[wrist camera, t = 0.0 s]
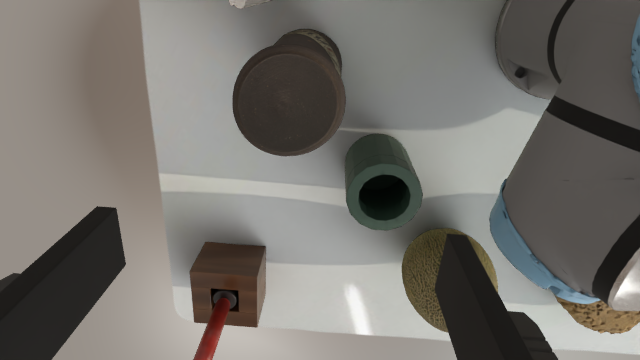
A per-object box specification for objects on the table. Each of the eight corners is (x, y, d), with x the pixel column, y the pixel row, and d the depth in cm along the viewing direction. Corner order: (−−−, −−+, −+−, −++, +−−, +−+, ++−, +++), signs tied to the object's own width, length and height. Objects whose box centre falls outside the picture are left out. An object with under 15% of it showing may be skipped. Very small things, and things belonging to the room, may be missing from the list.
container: (353, 83, 49) (363, 136, 31) (287, 111, 51) (259, 177, 32) (325, 12, 46) (317, 25, 27) (255, 45, 47) (204, 77, 29)
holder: (205, 241, 59) (189, 271, 53) (265, 246, 59) (257, 276, 53) (208, 289, 63) (194, 322, 57) (265, 294, 63) (257, 327, 57)
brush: (225, 259, 61) (174, 380, 42) (246, 260, 61) (204, 383, 42) (226, 276, 62) (176, 401, 43) (246, 277, 62) (206, 404, 43)
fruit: (419, 199, 55) (446, 266, 41) (490, 228, 56) (539, 302, 43) (382, 261, 60) (395, 340, 46) (448, 286, 61) (480, 370, 47)
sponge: (525, 216, 57) (547, 338, 61) (562, 234, 49) (585, 372, 53) (612, 190, 57) (629, 313, 61) (662, 203, 50) (678, 342, 53)
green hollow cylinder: (348, 131, 51) (350, 160, 42) (412, 136, 51) (428, 166, 42) (342, 188, 55) (343, 227, 46) (402, 193, 55) (415, 233, 46)
